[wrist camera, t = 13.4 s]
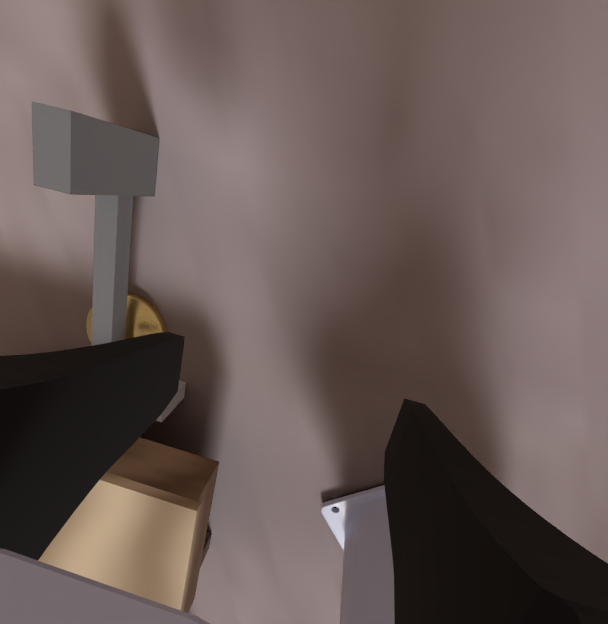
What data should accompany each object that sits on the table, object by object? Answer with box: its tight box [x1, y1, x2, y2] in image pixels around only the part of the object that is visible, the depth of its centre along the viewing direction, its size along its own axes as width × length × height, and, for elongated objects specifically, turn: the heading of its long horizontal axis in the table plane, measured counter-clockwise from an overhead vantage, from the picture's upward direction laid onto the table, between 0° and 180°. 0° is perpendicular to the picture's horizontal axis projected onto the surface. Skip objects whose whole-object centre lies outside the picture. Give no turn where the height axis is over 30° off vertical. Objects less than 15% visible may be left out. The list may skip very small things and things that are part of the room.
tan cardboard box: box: [38, 437, 219, 613], centre depth 22 cm, size 17×12×7 cm
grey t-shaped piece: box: [32, 102, 186, 422], centre depth 18 cm, size 8×15×6 cm, turn 167°
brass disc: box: [86, 293, 166, 343], centre depth 22 cm, size 5×5×1 cm
